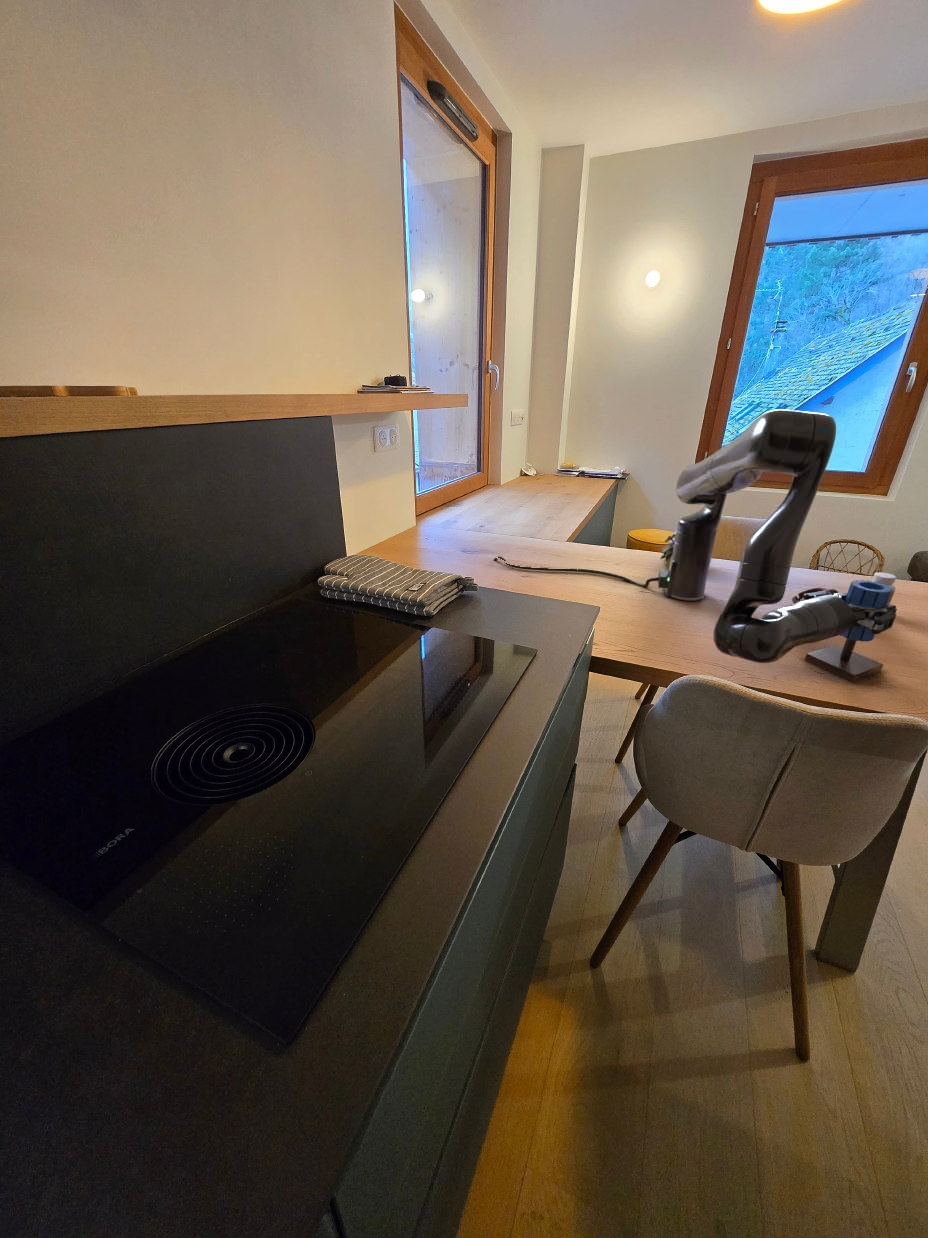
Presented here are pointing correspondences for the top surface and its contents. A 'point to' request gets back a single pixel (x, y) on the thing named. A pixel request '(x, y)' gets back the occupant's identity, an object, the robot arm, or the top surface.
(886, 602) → the fluted pencil holder
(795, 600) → the brown curved piece
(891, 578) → the supplement bottle
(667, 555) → the passion flower
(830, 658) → the stand
